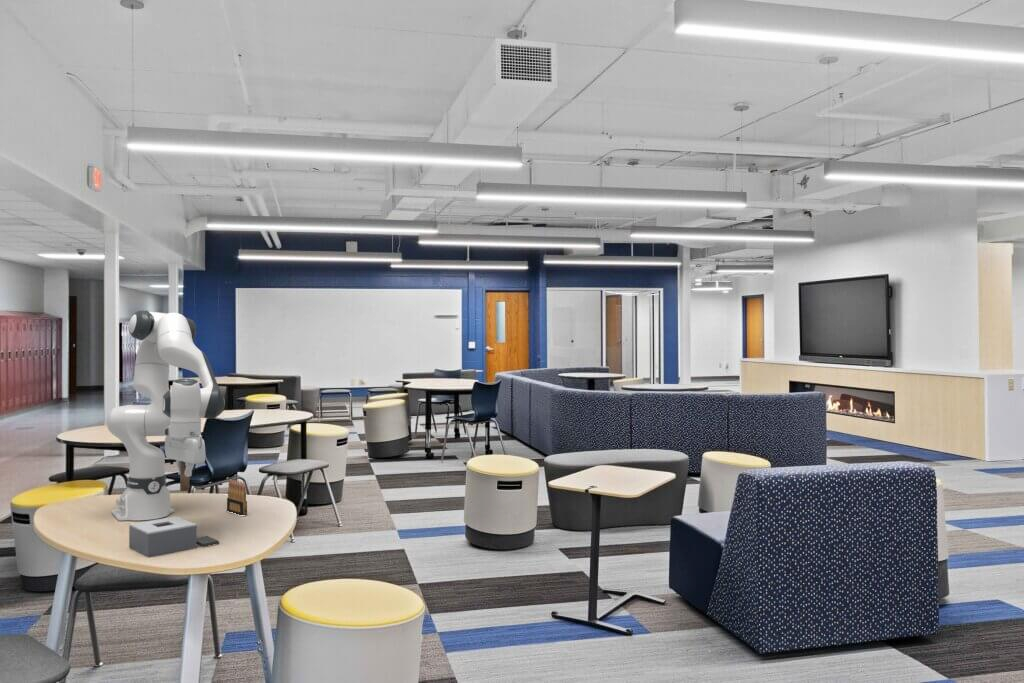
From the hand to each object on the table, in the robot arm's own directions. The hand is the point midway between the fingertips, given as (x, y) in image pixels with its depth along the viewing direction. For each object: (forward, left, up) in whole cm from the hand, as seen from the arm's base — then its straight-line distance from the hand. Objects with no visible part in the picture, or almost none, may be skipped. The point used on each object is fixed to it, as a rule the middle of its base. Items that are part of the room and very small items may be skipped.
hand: (184, 475), depth 233 cm
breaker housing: (+5, -8, -20) cm, 22 cm away
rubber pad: (+9, +3, -20) cm, 22 cm away
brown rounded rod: (0, 0, -5) cm, 5 cm away
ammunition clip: (-20, +28, -20) cm, 40 cm away
